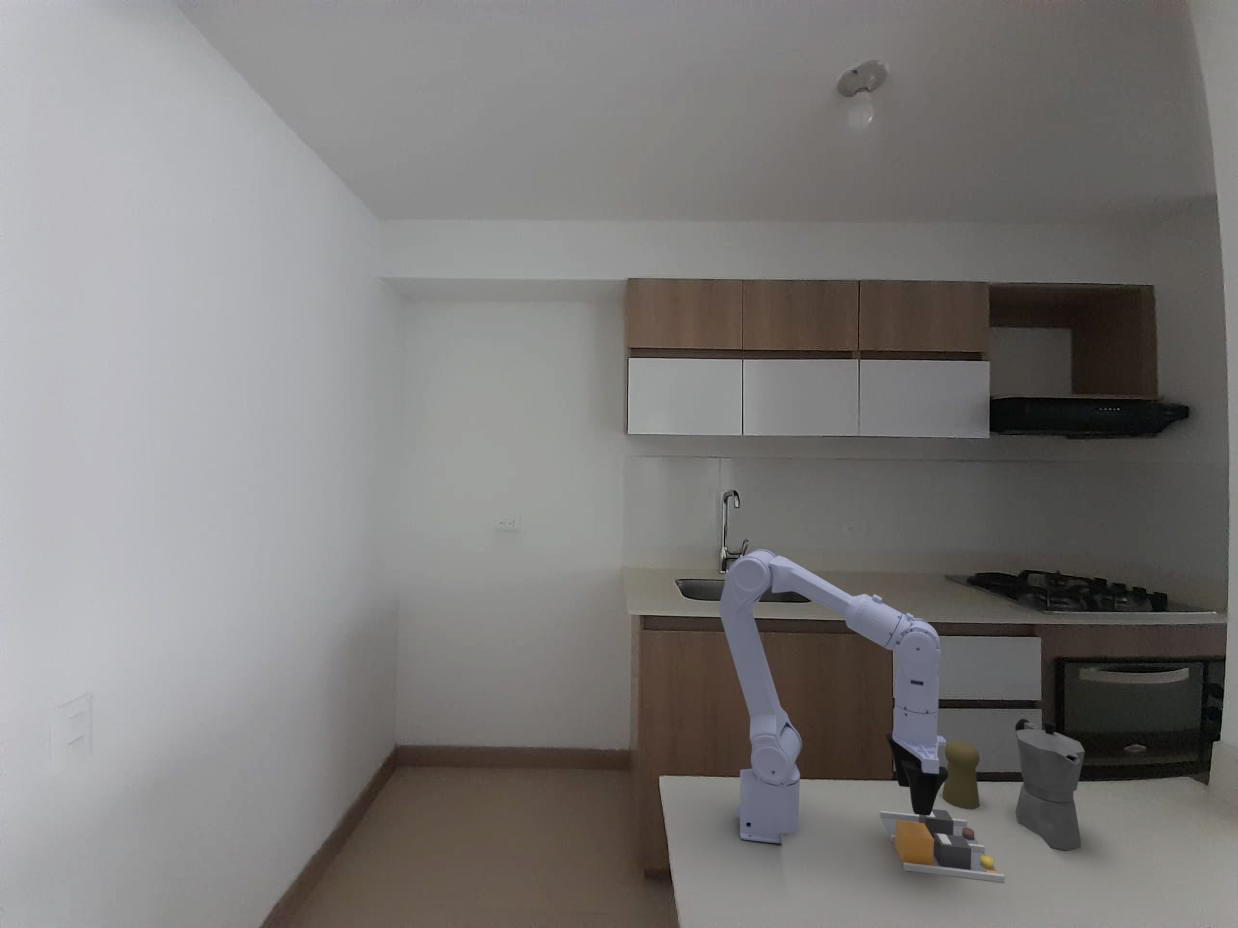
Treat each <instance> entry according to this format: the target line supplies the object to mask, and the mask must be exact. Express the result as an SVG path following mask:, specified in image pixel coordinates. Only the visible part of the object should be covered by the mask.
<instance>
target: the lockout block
mask: <svg viewBox="0 0 1238 928" xmlns="http://www.w3.org/2000/svg"><path fill="white" fill-rule="evenodd" d="M895 848H896V850H897V852H898V855H899V857H900V859H901V861H902V863H903V862H905V863H913V864H921V865H930V866H933V838H932V836H931V834H930V832H929V831H928V829H927V827H926V826H925V824H924V823H916V822H907V821H897V820H896V829H895ZM898 855H897V856H898Z"/></svg>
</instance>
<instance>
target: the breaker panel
mask: <svg viewBox="0 0 1238 928" xmlns="http://www.w3.org/2000/svg"><path fill="white" fill-rule="evenodd" d="M879 817H880V819H881V822H882V824H883V826H884V828H885V831H886V834H887V835H888V837H889V840H890V842H891V844H892V846H893V848H894V851H895V852H896V853H895V854H896V855H897V857H898V860H899V862H900V864H901V866H902V870H903V871H906V872H914V873H922V874H930V875H936V876H938V875H939V876H945V877H952V878H953V877H954V878H961V879H962V878H963V879H969V880H979V881H985V882H994V883H995V882H996V883H1002V884H1003V883H1005V880H1006V879H1005V878H1006V876H1005V875H1004V874H1003V873H999V872H998V870H997V869H996V868H995V864H994V863H995V861H994V859H993V857H991V856H989V855H987V854H986V853H985V846H984V844H979V843H978V841H977V839H976V837H975V831H974V830H973V829H972V828H970V827H968V821H967V820H966V819H962V818H952V820H953V821H954V822H953V835H956V836H963V837H964V838H965V840H966V841H967V843H968V844H969V846H970V847H971V870H968V869H959V868H951V867H943V866H940V864H939V862H938V861H937V859H936V857H935V855H934V839H933V866H930V865H921V864H913V863H905V862H903V863H902V861H901V859H900V857H899V855H898V852H897V850H896V848H895V829H896V820H897V821H907V822H916V823H919V815H918V814H915V813H907V812H895V811H887V810H879Z"/></svg>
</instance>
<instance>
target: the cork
mask: <svg viewBox="0 0 1238 928" xmlns="http://www.w3.org/2000/svg"><path fill="white" fill-rule="evenodd" d="M979 754H980V753H979V752H978V750H977V748H975V746H974V745H972V744H970V743H966V742H963V741H956V740H955V741H950V742H948V743H946V746H945V748H944V755H945V759H946V761H947V764H946V765H947V766H946V770H947V771H948V778H947V779H946V780H945V781H944V783H943V788H942V794H941V796H942V799H943V800H944V801H945V802H946V803H947V804H949V805H951V806H952V807H956V808H959V809H963V810H976V809H978V808H979V807H980V806H981V802H980V796H979V787H978V778H977V771H976V768H977V767H978V765H979V763H980V755H979Z"/></svg>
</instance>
